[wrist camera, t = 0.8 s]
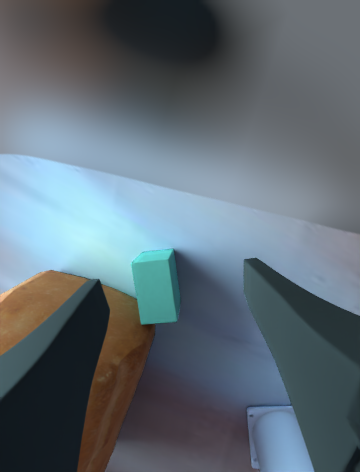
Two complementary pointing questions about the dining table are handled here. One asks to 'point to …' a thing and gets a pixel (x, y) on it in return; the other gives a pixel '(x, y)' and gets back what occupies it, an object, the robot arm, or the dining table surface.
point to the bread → (110, 360)
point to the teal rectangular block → (157, 286)
